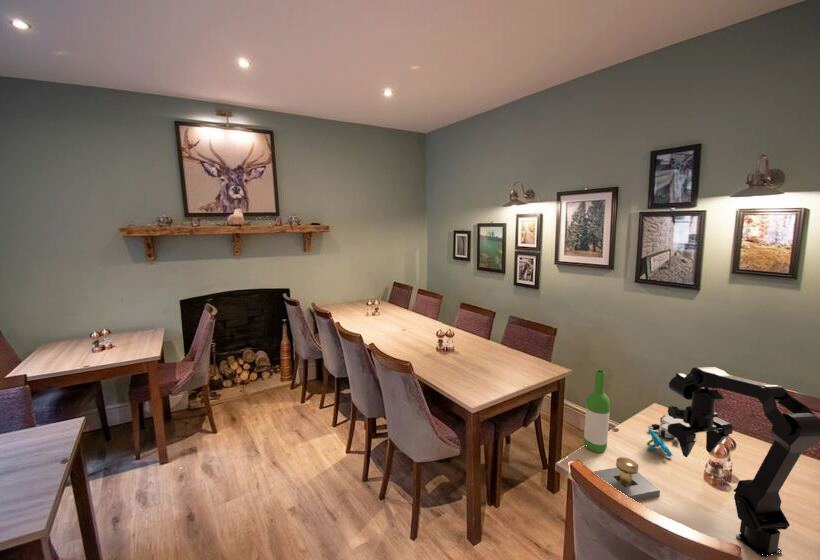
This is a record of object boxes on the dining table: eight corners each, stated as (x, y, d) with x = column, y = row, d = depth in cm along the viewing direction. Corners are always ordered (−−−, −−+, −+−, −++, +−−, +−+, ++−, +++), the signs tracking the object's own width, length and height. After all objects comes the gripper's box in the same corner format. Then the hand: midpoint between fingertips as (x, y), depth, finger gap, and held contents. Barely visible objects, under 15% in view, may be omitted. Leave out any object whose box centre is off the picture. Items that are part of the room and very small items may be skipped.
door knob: (640, 491, 115) (643, 468, 114) (624, 494, 114) (626, 470, 112) (625, 478, 121) (628, 456, 119) (610, 481, 119) (612, 458, 118)
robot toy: (679, 449, 137) (699, 435, 144) (679, 438, 136) (700, 424, 143) (645, 433, 148) (666, 420, 155) (645, 422, 147) (666, 410, 154)
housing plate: (659, 495, 113) (660, 490, 112) (620, 503, 110) (620, 497, 110) (628, 470, 124) (629, 465, 124) (592, 476, 121) (593, 471, 121)
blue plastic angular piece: (677, 459, 128) (654, 434, 130) (662, 467, 129) (640, 443, 132) (669, 445, 138) (648, 423, 140) (655, 453, 139) (635, 431, 142)
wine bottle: (591, 438, 143) (596, 365, 138) (610, 448, 136) (617, 372, 132) (579, 445, 139) (584, 370, 134) (599, 456, 132) (604, 377, 127)
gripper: (700, 391, 121) (695, 435, 124) (654, 398, 117) (649, 443, 119) (737, 408, 111) (730, 455, 113) (687, 416, 106) (682, 465, 109)
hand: (696, 454), depth 114 cm, fingers open, 9 cm apart
